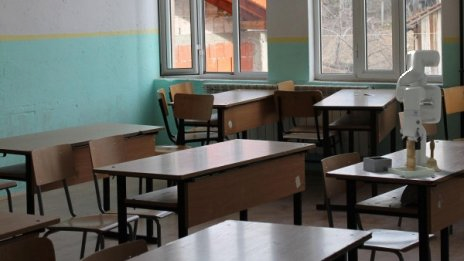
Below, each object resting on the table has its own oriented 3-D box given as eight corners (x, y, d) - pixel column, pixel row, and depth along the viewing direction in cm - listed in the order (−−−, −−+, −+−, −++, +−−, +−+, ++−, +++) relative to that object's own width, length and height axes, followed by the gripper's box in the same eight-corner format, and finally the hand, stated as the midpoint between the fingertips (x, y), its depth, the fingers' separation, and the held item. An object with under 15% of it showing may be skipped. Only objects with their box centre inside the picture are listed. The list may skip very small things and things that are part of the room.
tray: (416, 171, 433) (416, 165, 432) (434, 175, 420) (434, 169, 420) (388, 174, 425) (388, 168, 425) (405, 178, 413) (405, 171, 413)
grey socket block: (380, 170, 438) (380, 156, 437) (391, 173, 429) (391, 158, 428) (363, 171, 434) (363, 157, 433) (374, 174, 425) (374, 160, 424)
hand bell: (421, 169, 439) (421, 138, 437) (437, 169, 440) (437, 137, 438) (426, 172, 431) (426, 140, 429) (442, 171, 431) (443, 139, 430)
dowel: (412, 172, 426) (412, 140, 424) (417, 173, 422) (417, 140, 420) (404, 173, 424) (404, 140, 422) (410, 174, 420) (410, 141, 418)
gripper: (429, 114, 413) (428, 150, 415) (407, 111, 429) (407, 146, 431) (416, 115, 410) (416, 151, 412) (394, 112, 426) (394, 147, 428)
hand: (411, 148), depth 421 cm, fingers open, 9 cm apart
